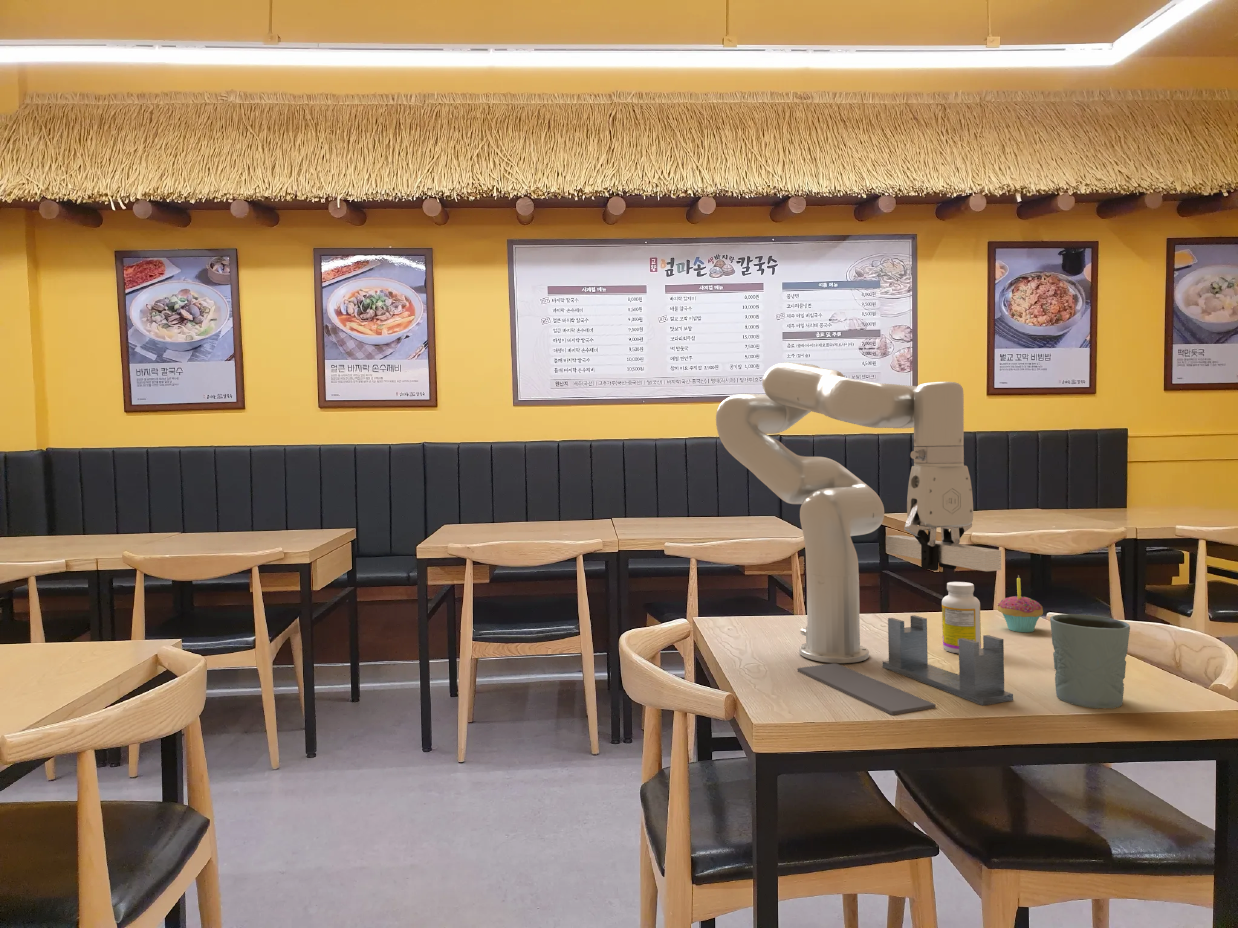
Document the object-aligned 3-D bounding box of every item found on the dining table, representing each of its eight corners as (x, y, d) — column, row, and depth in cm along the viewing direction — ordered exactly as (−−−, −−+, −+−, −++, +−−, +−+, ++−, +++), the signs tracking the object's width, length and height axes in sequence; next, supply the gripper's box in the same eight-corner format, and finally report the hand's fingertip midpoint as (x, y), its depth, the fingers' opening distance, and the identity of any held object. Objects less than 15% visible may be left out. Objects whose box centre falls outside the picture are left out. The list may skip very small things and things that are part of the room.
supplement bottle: (956, 644, 144) (955, 579, 144) (988, 651, 138) (987, 584, 138) (935, 649, 140) (934, 583, 140) (967, 657, 135) (966, 587, 135)
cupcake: (1042, 636, 149) (1041, 577, 149) (995, 631, 154) (994, 574, 154) (1044, 627, 156) (1043, 571, 156) (1000, 623, 161) (999, 569, 161)
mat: (797, 670, 128) (797, 667, 128) (835, 665, 131) (835, 662, 131) (891, 714, 105) (891, 711, 105) (935, 707, 108) (935, 704, 108)
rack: (882, 667, 129) (881, 616, 129) (909, 663, 131) (908, 613, 131) (982, 705, 109) (981, 645, 109) (1013, 700, 111) (1012, 641, 111)
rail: (885, 552, 130) (885, 535, 130) (899, 551, 131) (899, 535, 131) (985, 571, 109) (985, 551, 109) (1001, 570, 110) (1001, 550, 110)
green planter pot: (1035, 692, 114) (1034, 616, 114) (1086, 685, 117) (1085, 611, 117) (1094, 713, 104) (1093, 630, 104) (1148, 706, 107) (1146, 624, 107)
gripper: (915, 458, 114) (915, 575, 114) (995, 457, 119) (995, 569, 119) (882, 458, 121) (882, 568, 121) (959, 456, 126) (959, 562, 127)
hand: (938, 567), depth 120 cm, fingers closed on rail, 3 cm apart
